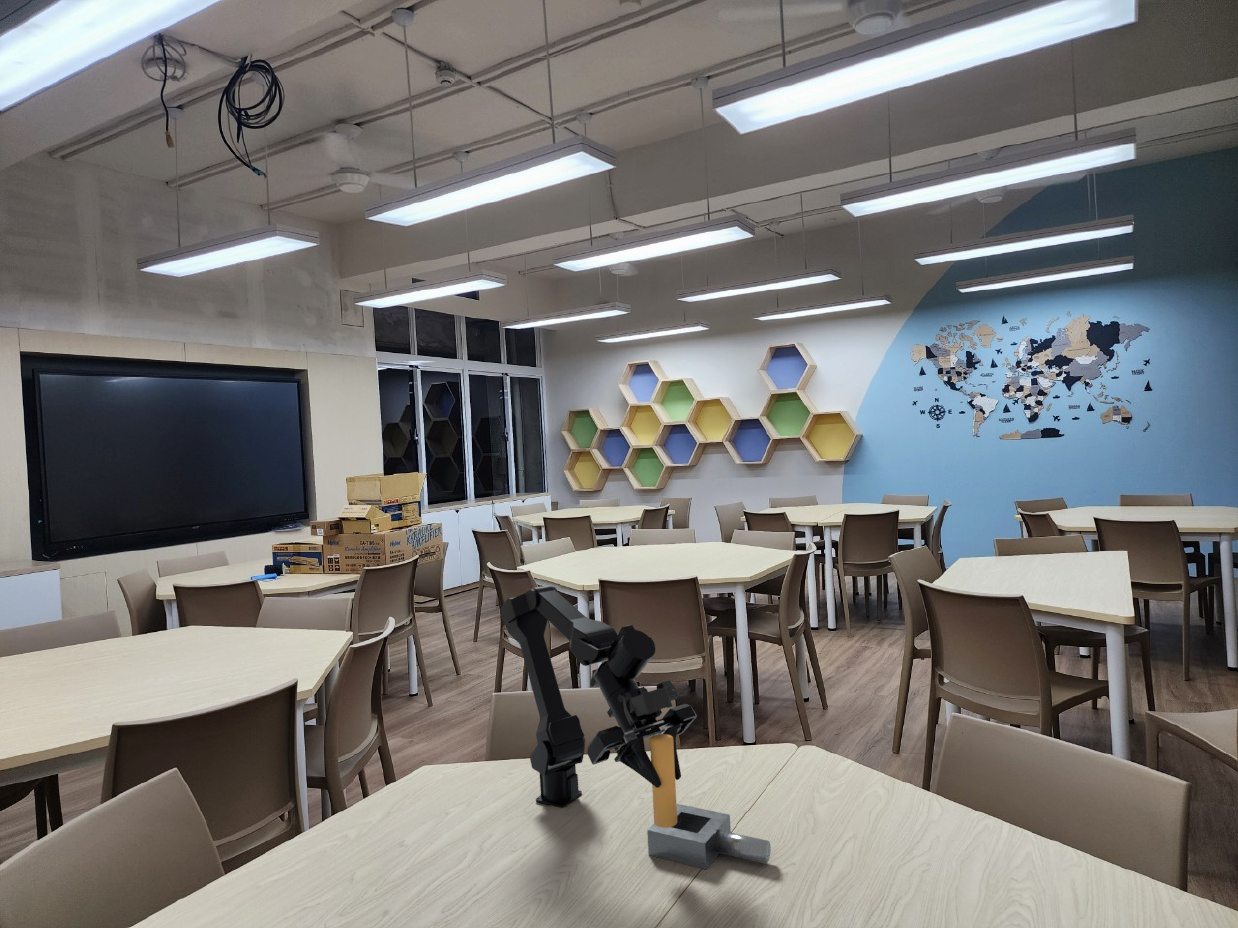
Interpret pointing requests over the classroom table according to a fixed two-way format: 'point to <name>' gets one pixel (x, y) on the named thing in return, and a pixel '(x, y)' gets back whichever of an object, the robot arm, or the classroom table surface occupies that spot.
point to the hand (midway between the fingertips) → (669, 782)
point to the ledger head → (703, 839)
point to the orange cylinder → (664, 780)
